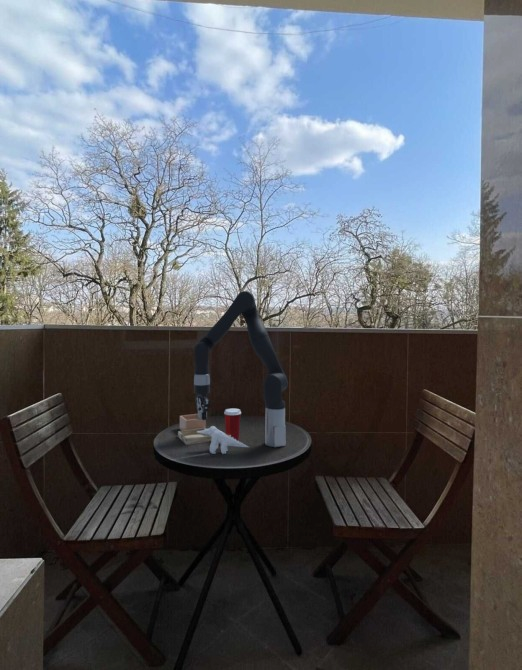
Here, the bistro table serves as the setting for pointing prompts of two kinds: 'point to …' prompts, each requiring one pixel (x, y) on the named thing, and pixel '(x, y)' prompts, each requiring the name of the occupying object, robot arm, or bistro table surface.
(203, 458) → the bistro table surface
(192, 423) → the bin
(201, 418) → the stone
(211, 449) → the dinosaur statue
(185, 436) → the tray
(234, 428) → the coffee cup
